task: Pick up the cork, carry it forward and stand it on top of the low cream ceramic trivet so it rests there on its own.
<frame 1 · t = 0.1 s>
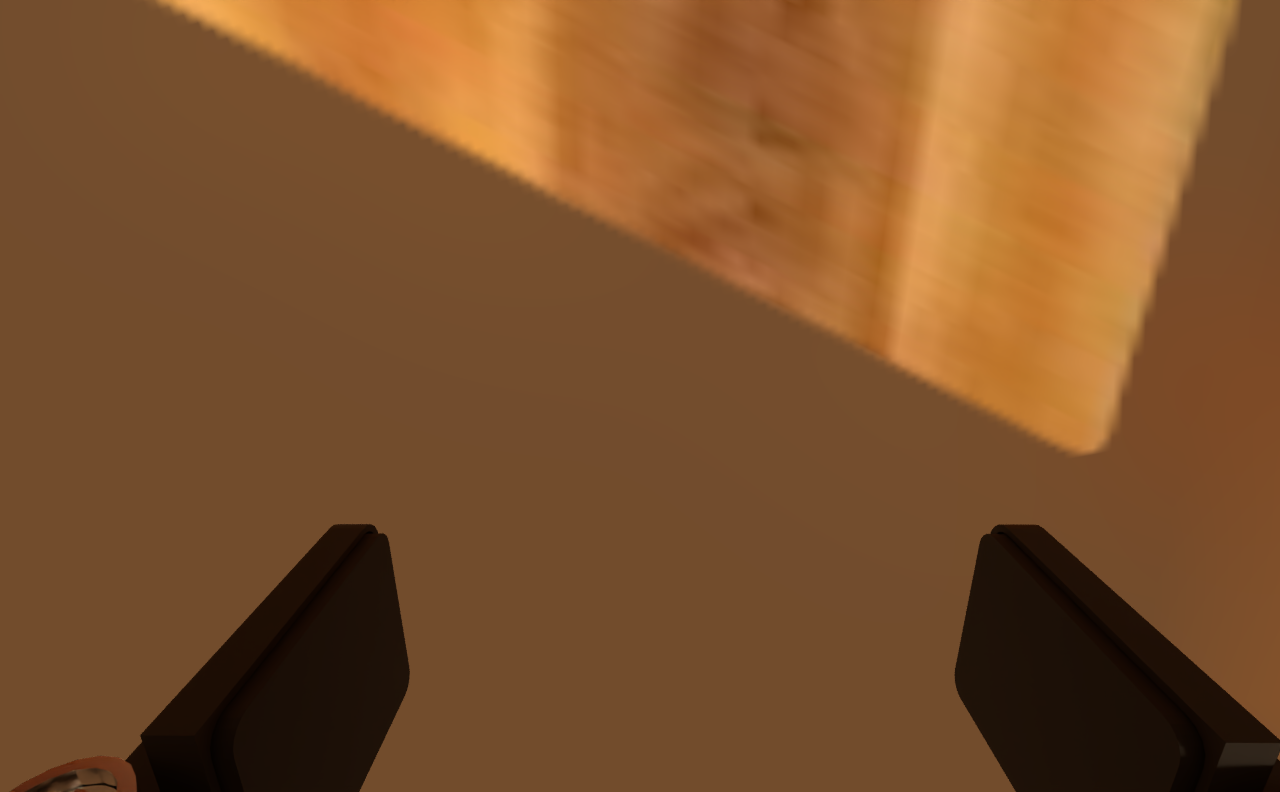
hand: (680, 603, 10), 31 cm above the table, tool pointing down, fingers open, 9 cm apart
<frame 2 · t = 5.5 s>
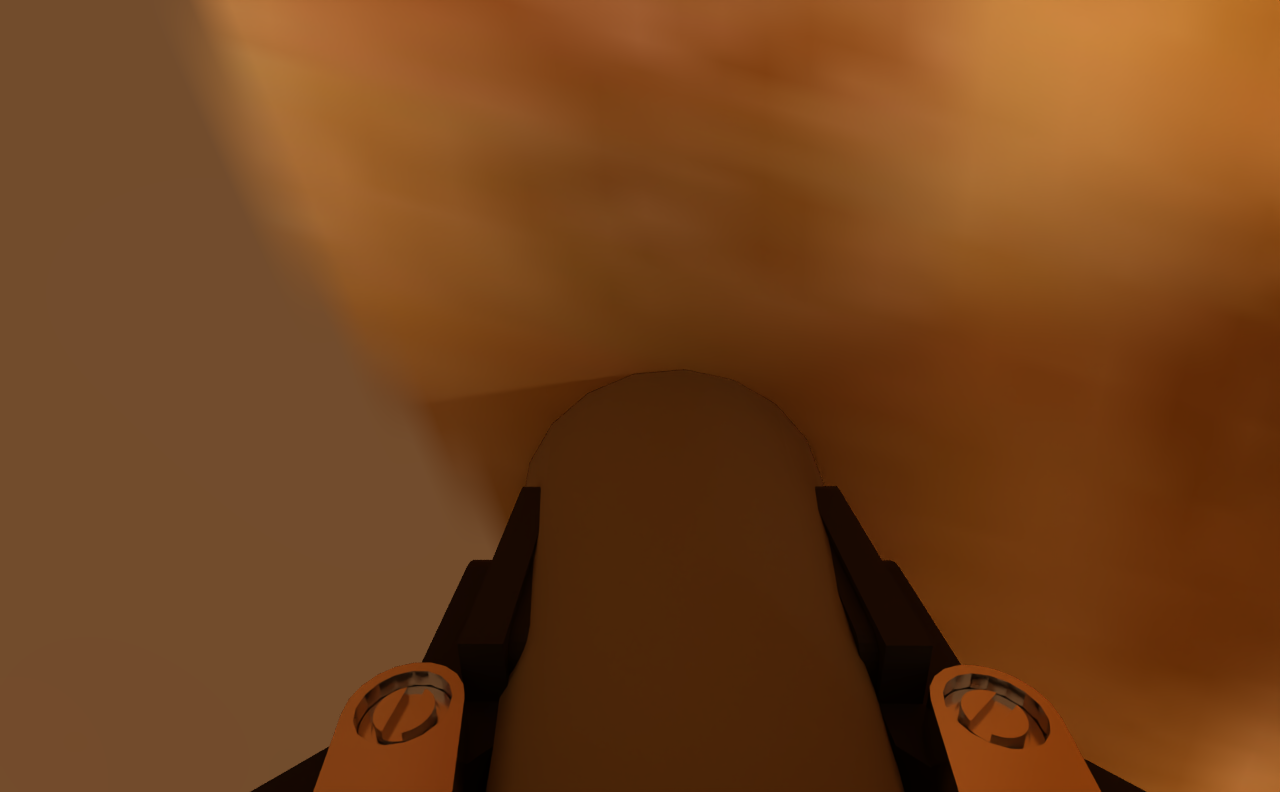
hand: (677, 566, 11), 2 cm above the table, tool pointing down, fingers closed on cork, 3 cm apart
cork: (672, 508, 13), on the table, touching gripper
when the fingers open (5 cm above the table, at t = 11.0 s): cork stays where it is, resting on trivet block.
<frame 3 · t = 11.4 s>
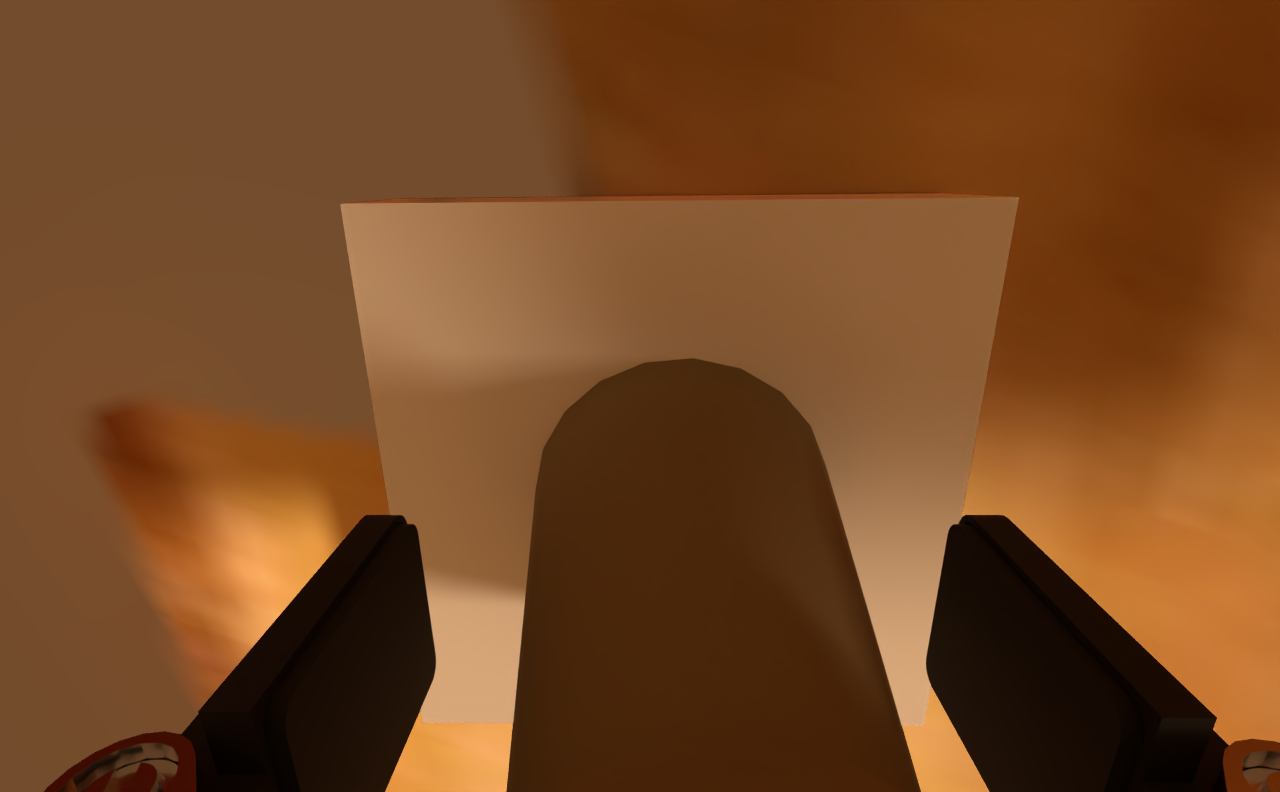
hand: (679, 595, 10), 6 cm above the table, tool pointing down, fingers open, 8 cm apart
cork: (680, 493, 13), point 3 cm above the table, touching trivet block
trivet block: (669, 444, 16), on the table
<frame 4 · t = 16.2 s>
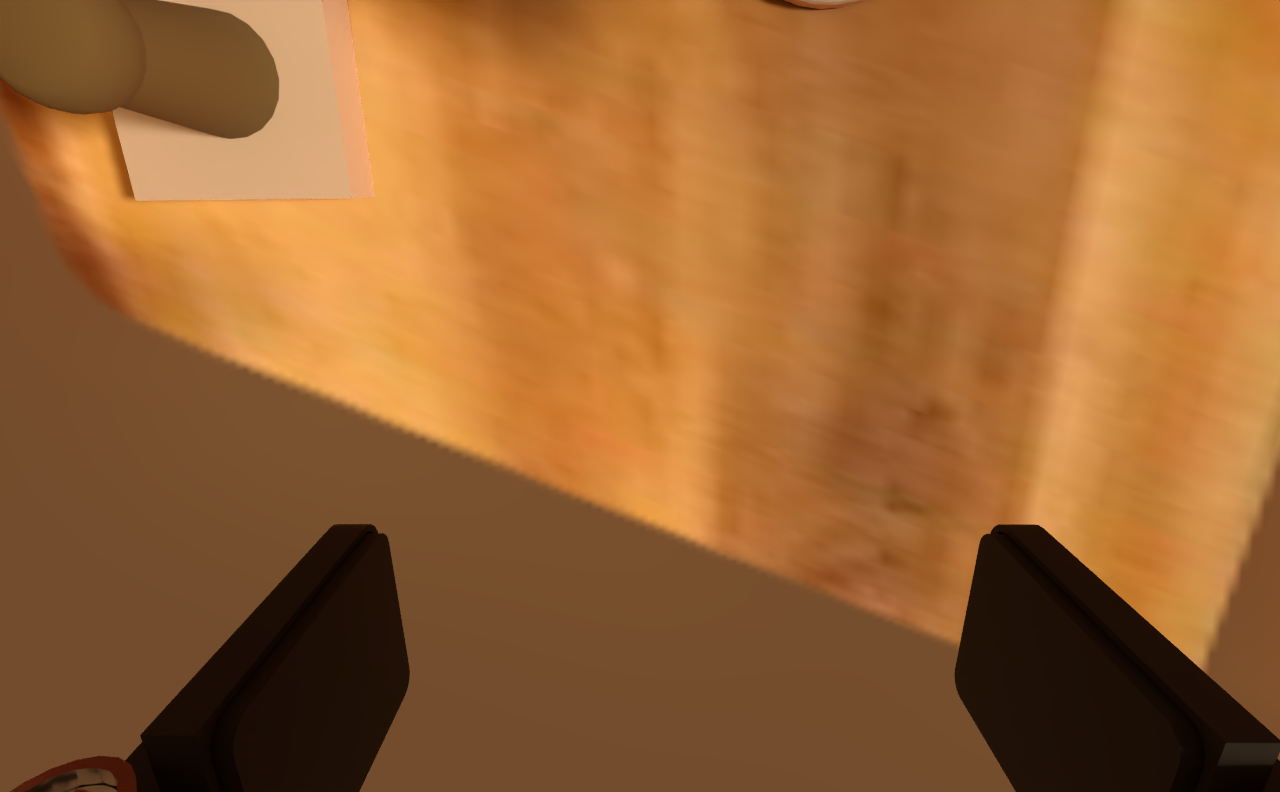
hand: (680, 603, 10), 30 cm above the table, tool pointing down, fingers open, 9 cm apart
cork: (223, 76, 33), point 3 cm above the table, touching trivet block
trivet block: (252, 85, 35), on the table
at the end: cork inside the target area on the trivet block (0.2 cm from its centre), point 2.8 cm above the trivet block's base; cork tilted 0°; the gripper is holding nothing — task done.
